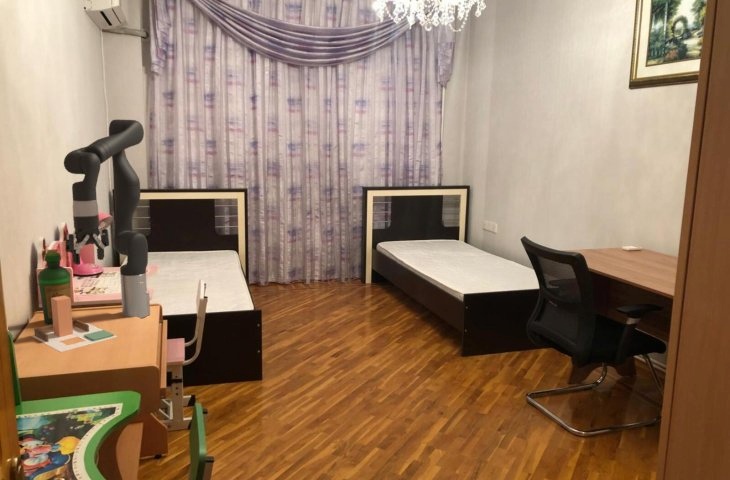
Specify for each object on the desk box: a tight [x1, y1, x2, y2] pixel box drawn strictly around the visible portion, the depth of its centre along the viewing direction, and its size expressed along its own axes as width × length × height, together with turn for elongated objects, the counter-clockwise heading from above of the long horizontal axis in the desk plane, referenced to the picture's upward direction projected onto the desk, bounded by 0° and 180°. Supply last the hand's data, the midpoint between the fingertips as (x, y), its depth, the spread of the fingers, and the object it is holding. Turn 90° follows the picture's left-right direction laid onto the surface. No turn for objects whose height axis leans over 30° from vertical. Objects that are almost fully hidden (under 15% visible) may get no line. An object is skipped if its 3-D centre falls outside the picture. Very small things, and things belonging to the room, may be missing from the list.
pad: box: [84, 329, 115, 341], centre depth 196 cm, size 7×7×1 cm
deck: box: [31, 322, 118, 353], centre depth 196 cm, size 19×22×1 cm
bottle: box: [37, 248, 71, 326], centre depth 209 cm, size 11×11×28 cm
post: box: [51, 295, 73, 337], centre depth 197 cm, size 4×4×13 cm
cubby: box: [33, 319, 89, 342], centre depth 198 cm, size 14×9×2 cm, turn 141°
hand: (89, 261), depth 190 cm, fingers open, 8 cm apart
